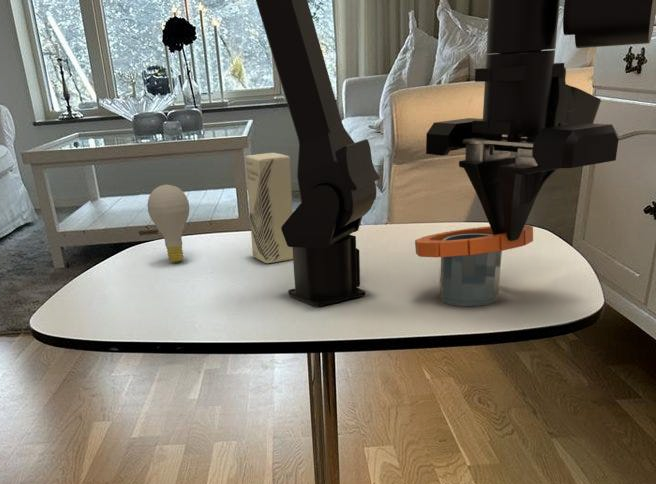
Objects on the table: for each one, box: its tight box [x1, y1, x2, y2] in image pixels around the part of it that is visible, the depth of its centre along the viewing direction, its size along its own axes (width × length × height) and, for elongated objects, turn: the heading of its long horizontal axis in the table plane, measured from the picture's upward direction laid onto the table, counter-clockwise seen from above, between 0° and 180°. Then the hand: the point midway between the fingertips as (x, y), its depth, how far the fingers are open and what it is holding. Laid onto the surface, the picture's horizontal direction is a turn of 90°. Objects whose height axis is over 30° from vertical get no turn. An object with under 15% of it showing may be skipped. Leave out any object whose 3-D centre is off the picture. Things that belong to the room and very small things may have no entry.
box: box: [244, 152, 293, 264], centre depth 97 cm, size 5×4×13 cm
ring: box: [414, 224, 534, 258], centre depth 76 cm, size 11×11×1 cm
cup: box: [439, 234, 502, 307], centre depth 78 cm, size 6×6×6 cm
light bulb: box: [146, 184, 190, 264], centre depth 100 cm, size 6×5×10 cm
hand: (506, 238), depth 72 cm, fingers closed on ring, 1 cm apart
